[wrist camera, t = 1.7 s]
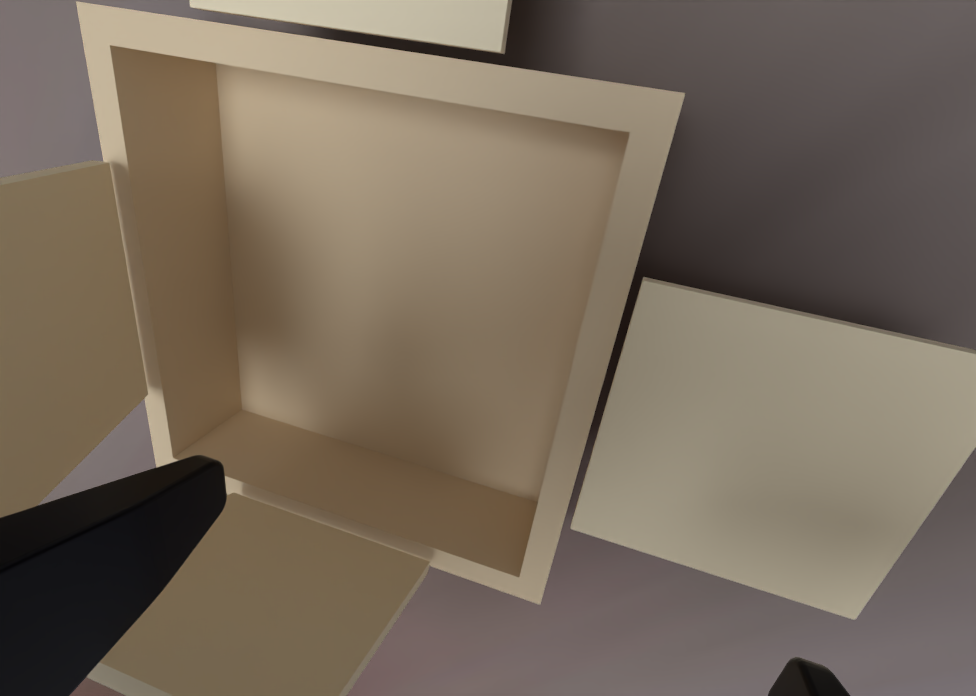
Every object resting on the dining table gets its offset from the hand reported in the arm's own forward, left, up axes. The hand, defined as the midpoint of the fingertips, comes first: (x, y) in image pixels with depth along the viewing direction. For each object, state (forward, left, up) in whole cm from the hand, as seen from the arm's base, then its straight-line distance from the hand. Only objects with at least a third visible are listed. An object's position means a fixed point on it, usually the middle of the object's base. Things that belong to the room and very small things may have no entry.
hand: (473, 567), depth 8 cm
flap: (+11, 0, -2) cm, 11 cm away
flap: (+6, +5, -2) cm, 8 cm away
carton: (+2, -4, -10) cm, 10 cm away
